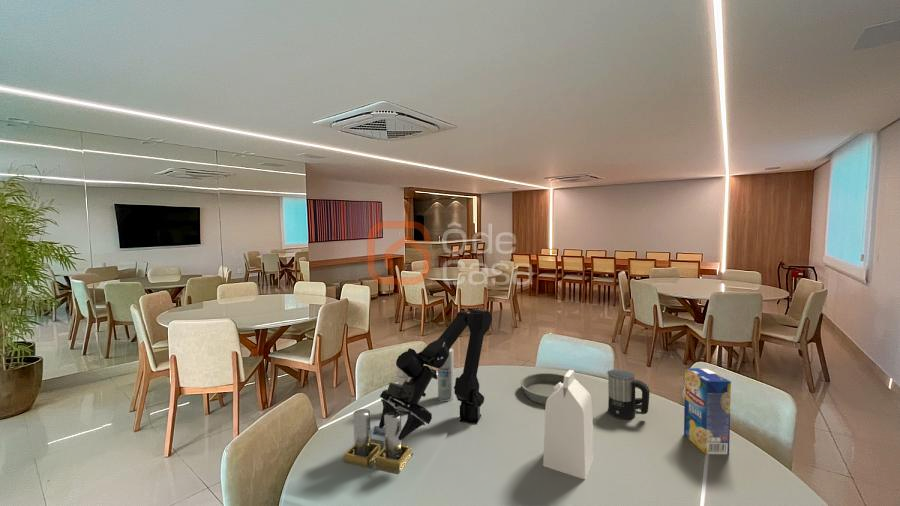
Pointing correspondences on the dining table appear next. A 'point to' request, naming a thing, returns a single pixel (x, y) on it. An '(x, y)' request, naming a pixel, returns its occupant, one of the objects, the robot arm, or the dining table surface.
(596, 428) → the dining table surface
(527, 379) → the cake pan
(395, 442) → the billet
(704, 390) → the blue cardboard box
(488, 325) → the robot arm
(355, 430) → the billet twin
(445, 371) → the spray can
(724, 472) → the dining table surface
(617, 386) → the milk frother
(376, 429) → the grey square dish
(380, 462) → the gold holder tray
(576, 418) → the milk
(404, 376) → the plastic bottle
